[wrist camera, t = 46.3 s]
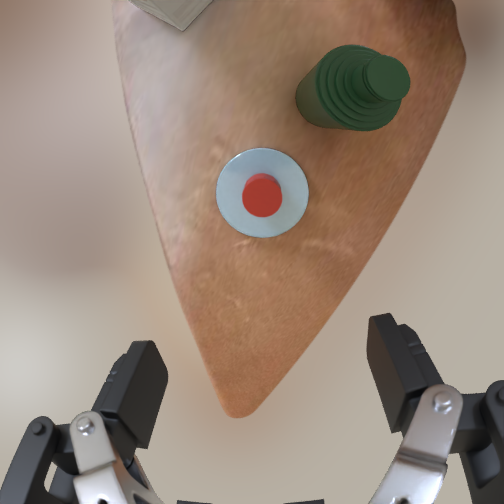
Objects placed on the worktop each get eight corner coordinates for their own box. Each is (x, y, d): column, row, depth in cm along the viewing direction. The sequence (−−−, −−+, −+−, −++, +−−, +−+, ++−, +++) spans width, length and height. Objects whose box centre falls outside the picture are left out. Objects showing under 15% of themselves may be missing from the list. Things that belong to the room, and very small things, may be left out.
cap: (241, 176, 31) (238, 182, 28) (277, 170, 30) (279, 176, 27) (247, 210, 32) (245, 220, 29) (282, 205, 32) (284, 214, 29)
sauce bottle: (285, 83, 27) (310, 40, 12) (339, 64, 26) (409, 16, 10) (310, 136, 29) (361, 151, 14) (363, 116, 28) (452, 118, 13)
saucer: (208, 156, 31) (207, 157, 30) (301, 141, 30) (302, 142, 29) (226, 241, 35) (225, 243, 34) (312, 228, 34) (313, 231, 33)
